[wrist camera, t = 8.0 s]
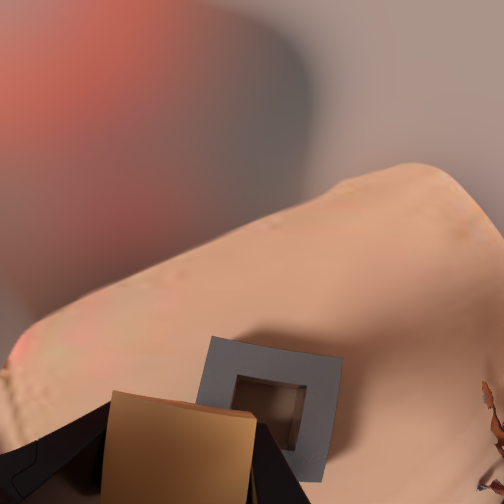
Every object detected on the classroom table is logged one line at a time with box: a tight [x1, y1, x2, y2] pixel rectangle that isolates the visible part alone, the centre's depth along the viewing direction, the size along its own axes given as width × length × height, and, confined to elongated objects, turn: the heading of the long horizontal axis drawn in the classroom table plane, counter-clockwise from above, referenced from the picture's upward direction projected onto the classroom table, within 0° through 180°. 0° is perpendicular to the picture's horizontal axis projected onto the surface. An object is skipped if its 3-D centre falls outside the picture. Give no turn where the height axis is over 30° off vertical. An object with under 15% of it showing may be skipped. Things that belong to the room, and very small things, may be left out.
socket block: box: [195, 336, 343, 482], centre depth 17 cm, size 9×9×4 cm
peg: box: [100, 390, 257, 504], centre depth 9 cm, size 4×4×9 cm
